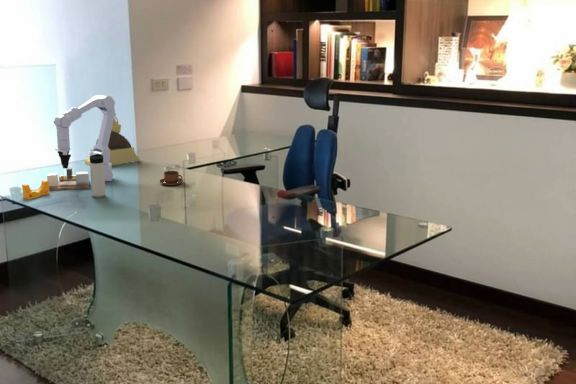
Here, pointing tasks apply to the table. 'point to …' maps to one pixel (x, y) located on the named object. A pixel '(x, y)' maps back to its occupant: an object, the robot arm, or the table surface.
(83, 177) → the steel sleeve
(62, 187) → the walnut board
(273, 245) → the table surface
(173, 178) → the cup and saucer
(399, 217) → the table surface
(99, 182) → the travel mug
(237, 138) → the table surface
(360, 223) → the table surface
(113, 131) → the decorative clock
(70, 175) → the block with brass knob
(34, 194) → the yellow u-shaped block
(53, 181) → the white square block
